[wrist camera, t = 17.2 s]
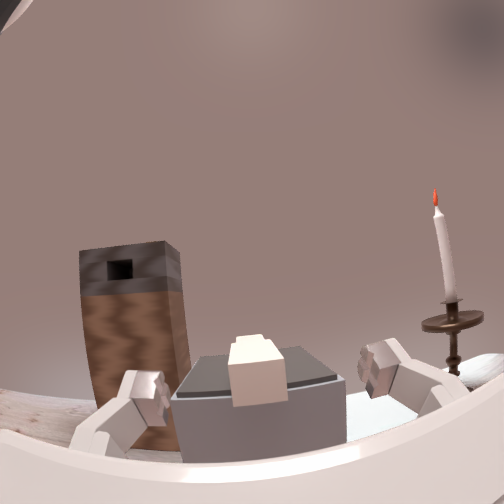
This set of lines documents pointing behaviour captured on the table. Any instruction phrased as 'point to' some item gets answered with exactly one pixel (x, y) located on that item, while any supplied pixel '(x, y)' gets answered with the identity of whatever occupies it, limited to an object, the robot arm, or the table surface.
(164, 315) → the stand
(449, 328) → the candlestick
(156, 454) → the table surface
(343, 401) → the shelf
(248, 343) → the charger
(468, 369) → the table surface
